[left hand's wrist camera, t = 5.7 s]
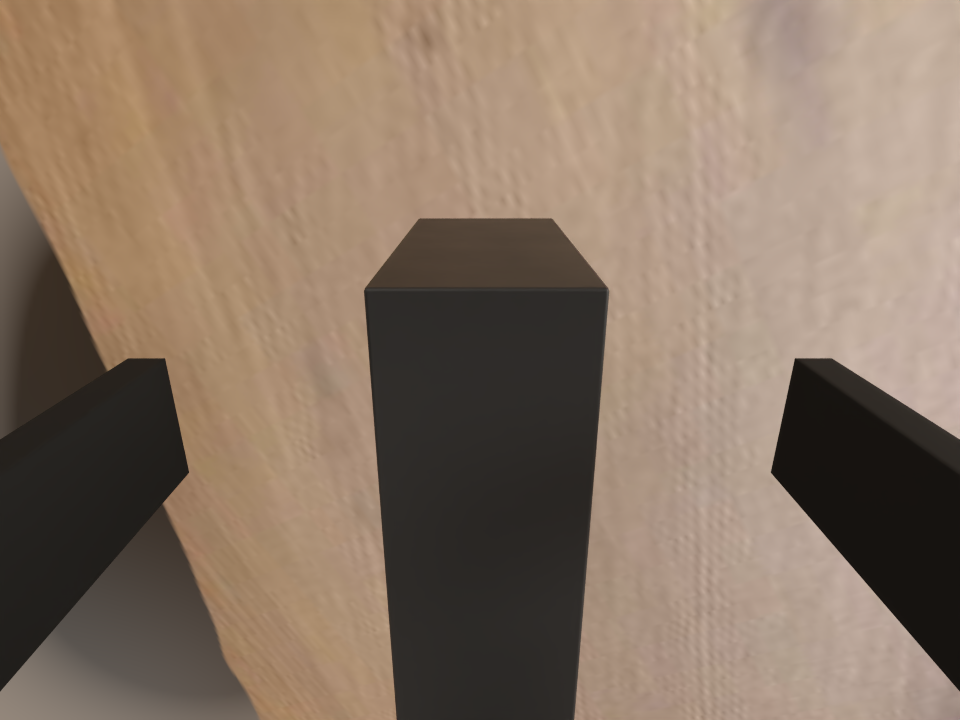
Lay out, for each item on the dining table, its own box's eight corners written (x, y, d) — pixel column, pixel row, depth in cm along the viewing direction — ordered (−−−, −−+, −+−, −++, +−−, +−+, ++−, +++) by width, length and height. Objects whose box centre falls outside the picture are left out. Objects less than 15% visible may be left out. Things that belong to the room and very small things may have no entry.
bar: (418, 218, 19) (363, 287, 11) (553, 218, 19) (610, 288, 11) (439, 761, 29) (420, 1033, 20) (529, 762, 29) (548, 1034, 20)
